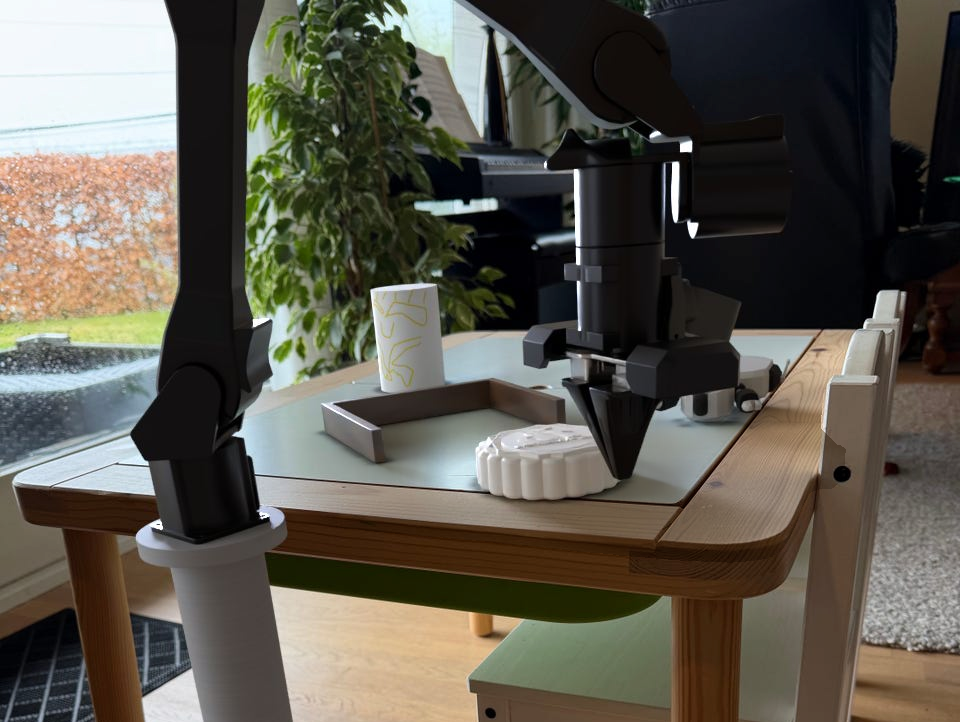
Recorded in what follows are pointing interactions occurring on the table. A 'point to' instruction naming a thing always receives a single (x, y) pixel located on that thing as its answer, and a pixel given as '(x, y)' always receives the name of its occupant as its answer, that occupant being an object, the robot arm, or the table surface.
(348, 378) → the table surface
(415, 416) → the frame
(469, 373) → the table surface
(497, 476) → the mooncake
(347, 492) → the table surface
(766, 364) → the robot toy
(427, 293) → the cup
